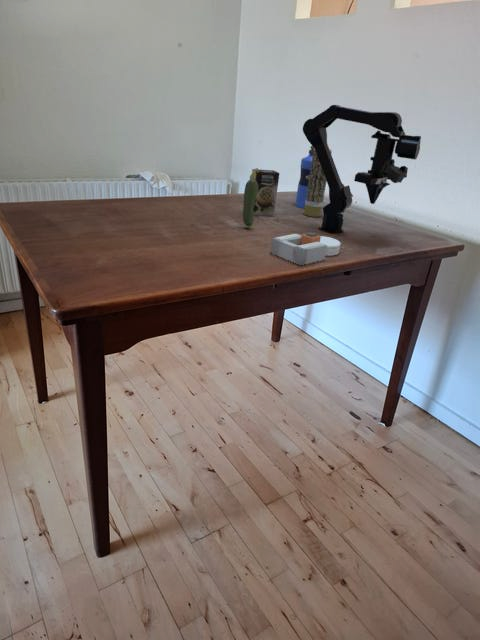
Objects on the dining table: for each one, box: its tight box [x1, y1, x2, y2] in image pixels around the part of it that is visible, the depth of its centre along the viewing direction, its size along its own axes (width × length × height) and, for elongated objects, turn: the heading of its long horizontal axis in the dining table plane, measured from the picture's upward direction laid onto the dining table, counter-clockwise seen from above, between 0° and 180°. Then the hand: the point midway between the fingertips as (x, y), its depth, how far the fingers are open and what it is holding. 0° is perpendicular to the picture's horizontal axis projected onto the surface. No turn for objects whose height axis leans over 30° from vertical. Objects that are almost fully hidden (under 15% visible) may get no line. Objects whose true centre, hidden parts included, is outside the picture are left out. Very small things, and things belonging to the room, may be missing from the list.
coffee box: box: [251, 168, 280, 217], centre depth 172 cm, size 9×6×16 cm
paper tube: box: [303, 148, 333, 218], centre depth 176 cm, size 7×7×25 cm
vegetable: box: [242, 167, 260, 229], centre depth 151 cm, size 4×4×20 cm
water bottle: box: [294, 145, 314, 209], centre depth 190 cm, size 9×9×25 cm
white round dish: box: [320, 235, 341, 257], centre depth 140 cm, size 10×10×4 cm
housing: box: [270, 233, 327, 266], centre depth 132 cm, size 12×10×5 cm
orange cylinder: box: [300, 231, 322, 245], centre depth 135 cm, size 4×4×6 cm
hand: (372, 203), depth 152 cm, fingers closed
